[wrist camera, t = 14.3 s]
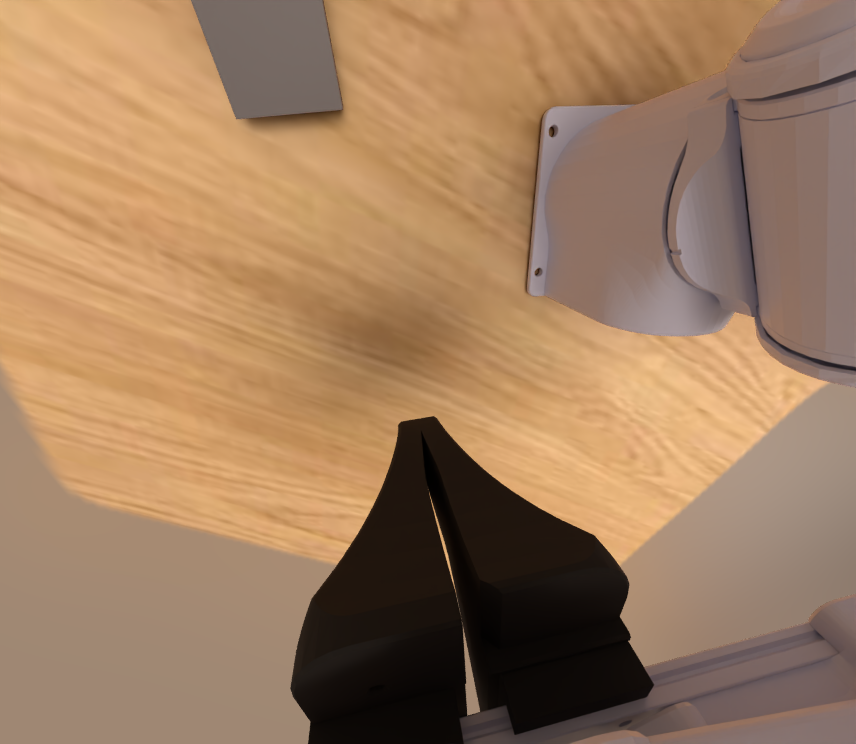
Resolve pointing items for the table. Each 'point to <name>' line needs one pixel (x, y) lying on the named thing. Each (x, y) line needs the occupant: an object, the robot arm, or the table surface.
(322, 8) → the domino
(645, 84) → the table surface
